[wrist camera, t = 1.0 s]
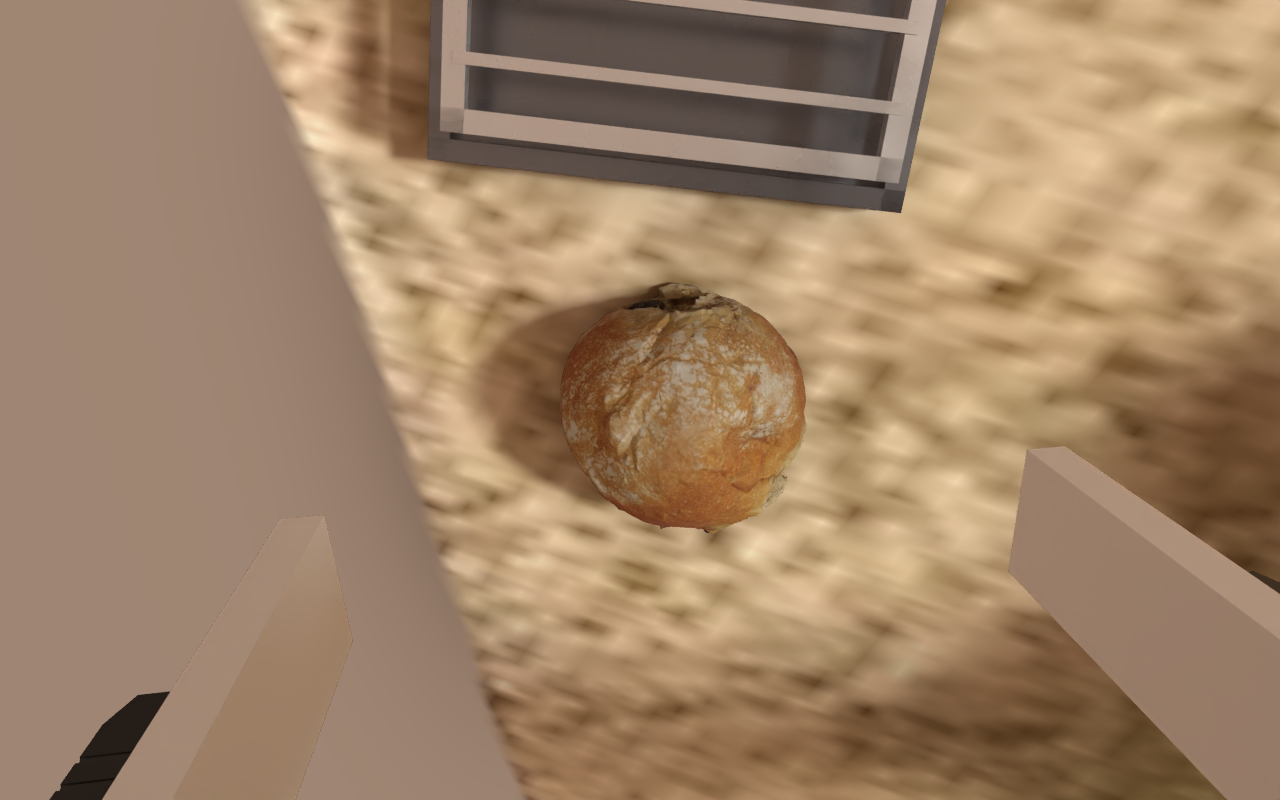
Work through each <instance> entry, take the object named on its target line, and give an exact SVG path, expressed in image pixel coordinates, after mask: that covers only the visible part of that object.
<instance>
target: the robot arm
mask: <svg viewBox="0 0 1280 800" xmlns="http://www.w3.org/2000/svg"><path fill="white" fill-rule="evenodd" d="M1008 571H1009V572H1010V574H1011V575H1012V576H1013V577H1014V578H1015V579H1016V580H1017V581H1018V582H1019V583H1020V584H1021V585H1022V586H1023V587H1024V588H1025V589H1026V590H1027V591H1028V592H1029V593H1030V594H1031V595H1032V597H1033V598H1034V599H1035V600H1036V601H1037V602H1038V603H1039V604H1040V605H1041V606H1042V607H1043V608H1044V609H1045V610H1046V611H1047V612H1048V613H1049V614H1050V615H1051V616H1052V617H1053V618H1054V620H1055V621H1056V622H1057V623H1058V624H1059V625H1060V626H1061V627H1062V628H1063V629H1064V630H1065V631H1066V632H1067V633H1068V634H1069V635H1070V636H1071V637H1072V638H1073V639H1074V640H1075V641H1076V643H1077V644H1078V645H1079V646H1080V647H1081V648H1082V649H1083V650H1084V651H1085V652H1086V653H1087V654H1088V655H1089V656H1090V657H1091V658H1092V659H1093V660H1094V661H1095V662H1096V663H1097V664H1098V666H1099V667H1100V668H1101V669H1102V670H1103V671H1104V672H1105V673H1106V674H1107V675H1108V676H1109V677H1110V678H1111V679H1112V680H1113V681H1114V682H1115V683H1116V684H1117V685H1118V686H1119V687H1120V689H1121V690H1122V691H1123V692H1124V693H1125V694H1126V695H1127V696H1128V697H1129V698H1130V699H1131V700H1132V701H1133V702H1134V703H1135V704H1136V705H1137V706H1138V707H1139V708H1140V709H1141V711H1142V712H1143V713H1144V714H1145V715H1146V716H1147V717H1148V718H1149V719H1150V720H1151V721H1152V722H1153V723H1154V724H1155V725H1156V726H1157V727H1158V728H1159V729H1160V730H1161V731H1162V732H1163V734H1164V735H1165V736H1166V737H1167V738H1168V739H1169V740H1170V741H1171V742H1172V743H1173V744H1174V745H1175V746H1176V747H1177V748H1178V749H1179V750H1180V751H1181V752H1182V753H1183V754H1184V755H1185V757H1186V758H1187V759H1188V760H1189V761H1190V762H1191V763H1192V764H1193V765H1194V766H1195V767H1196V768H1197V769H1198V770H1199V771H1200V772H1201V773H1202V774H1203V775H1204V776H1205V777H1206V778H1207V780H1208V781H1209V782H1210V783H1211V784H1212V785H1213V786H1214V787H1215V788H1216V789H1217V790H1218V791H1219V792H1220V793H1221V794H1222V795H1223V796H1224V797H1225V798H1226V799H1227V800H1280V583H1279V582H1277V581H1275V580H1272V579H1270V578H1268V577H1265V576H1263V575H1261V574H1259V573H1256V572H1254V571H1250V572H1247V571H1246V570H1244V569H1243V568H1241V567H1240V566H1238V565H1237V564H1235V563H1234V562H1232V561H1231V560H1230V559H1228V558H1227V557H1225V556H1224V555H1222V554H1221V553H1219V552H1218V551H1216V550H1215V549H1214V548H1212V547H1211V546H1209V545H1208V544H1206V543H1205V542H1203V541H1202V540H1200V539H1199V538H1198V537H1196V536H1195V535H1193V534H1192V533H1190V532H1189V531H1187V530H1186V529H1184V528H1183V527H1182V526H1180V525H1179V524H1177V523H1176V522H1174V521H1173V520H1171V519H1170V518H1168V517H1167V516H1166V515H1164V514H1163V513H1161V512H1160V511H1158V510H1157V509H1155V508H1154V507H1152V506H1151V505H1150V504H1148V503H1147V502H1145V501H1144V500H1142V499H1141V498H1139V497H1138V496H1136V495H1135V494H1134V493H1132V492H1131V491H1129V490H1128V489H1126V488H1125V487H1123V486H1122V485H1120V484H1119V483H1118V482H1116V481H1115V480H1113V479H1112V478H1110V477H1109V476H1107V475H1106V474H1105V473H1103V472H1102V471H1100V470H1099V469H1097V468H1096V467H1094V466H1093V465H1091V464H1090V463H1089V462H1087V461H1086V460H1084V459H1083V458H1081V457H1080V456H1078V455H1077V454H1075V453H1074V452H1073V451H1071V450H1070V449H1068V448H1067V447H1065V446H1061V447H1050V448H1039V449H1029V450H1027V452H1026V458H1025V465H1024V471H1023V478H1022V485H1021V491H1020V498H1019V504H1018V511H1017V517H1016V524H1015V530H1014V537H1013V543H1012V550H1011V556H1010V563H1009V569H1008ZM352 642H353V640H352V635H351V630H350V626H349V621H348V617H347V613H346V608H345V604H344V599H343V595H342V590H341V586H340V582H339V577H338V573H337V569H336V564H335V560H334V555H333V551H332V547H331V542H330V538H329V533H328V529H327V525H326V520H325V516H324V515H318V516H308V517H296V518H286V519H280V520H279V521H278V523H277V525H276V526H275V528H274V529H273V531H272V532H271V534H270V535H269V537H268V539H267V540H266V542H265V543H264V545H263V547H262V548H261V550H260V551H259V553H258V554H257V556H256V558H255V559H254V561H253V562H252V564H251V566H250V567H249V569H248V570H247V572H246V573H245V575H244V577H243V578H242V580H241V581H240V583H239V585H238V586H237V588H236V589H235V591H234V592H233V594H232V595H231V597H230V599H229V601H228V602H227V603H226V605H225V607H224V608H223V610H222V611H221V613H220V614H219V616H218V618H217V619H216V621H215V622H214V624H213V625H212V627H211V629H210V630H209V632H208V633H207V635H206V637H205V638H204V640H203V641H202V643H201V645H200V646H199V648H198V649H197V651H196V652H195V654H194V655H193V657H192V659H191V660H190V662H189V663H188V665H187V666H186V668H185V670H184V671H183V673H182V674H181V676H180V678H179V679H178V681H177V682H176V684H175V686H174V687H173V689H172V690H171V692H162V693H152V694H144V695H137V696H136V697H135V698H134V699H133V700H132V701H130V702H129V703H128V704H127V705H126V706H124V707H123V708H122V709H121V710H120V711H118V712H117V713H116V714H115V715H114V716H112V718H110V719H109V720H108V721H107V722H105V723H104V724H103V725H102V726H101V728H100V729H99V731H98V732H97V733H96V735H95V736H94V738H93V739H92V741H91V742H90V744H89V745H88V746H87V748H86V749H85V750H84V752H83V753H82V755H81V756H80V762H79V763H76V764H75V765H74V766H73V767H72V769H71V770H70V772H69V773H68V774H67V776H66V777H65V779H64V780H63V782H62V783H61V789H60V791H56V792H55V793H54V794H53V796H52V797H51V799H50V800H296V797H297V794H298V792H299V789H300V786H301V783H302V781H303V778H304V775H305V772H306V769H307V767H308V764H309V761H310V758H311V756H312V753H313V750H314V747H315V744H316V742H317V739H318V736H319V733H320V731H321V728H322V725H323V722H324V720H325V716H326V714H327V711H328V708H329V706H330V703H331V700H332V697H333V694H334V692H335V689H336V686H337V683H338V680H339V678H340V675H341V672H342V670H343V667H344V664H345V661H346V658H347V656H348V653H349V650H350V647H351V644H352Z"/></svg>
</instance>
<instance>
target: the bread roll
mask: <svg viewBox="0 0 1280 800" xmlns="http://www.w3.org/2000/svg"><path fill="white" fill-rule="evenodd" d="M658 290H659V297H657V298H652V299H647V300H644V301H642V302H639V303H635V304H633V305H630V306H627V307H622V308H620V309H618V310H616V311H614V312H610V313H607V314H606V315H605V316H604V317H603V318H602V319H601V320H600V321H599V322H597V323H595V324H594V325H593V326H592V327H590V328H589V329H588V330H587V331H586V332H585V333H583V335H582V336H581V337H580V339H579V340H578V342H577V343H576V345H575V346H574V348H573V350H572V351H571V353H570V355H569V357H568V360H567V362H566V365H565V368H564V372H563V376H562V381H561V400H560V413H561V421H562V426H563V430H564V434H565V436H566V439H567V443H568V445H569V448H570V450H571V452H572V453H573V455H574V457H575V458H576V460H577V462H578V464H579V466H580V467H581V469H582V470H583V471H584V473H585V474H586V475H587V476H588V477H589V478H590V480H591V481H592V483H593V484H594V485H595V486H596V488H597V489H598V491H599V493H600V494H601V495H602V496H603V497H604V498H605V499H606V500H608V501H610V502H611V503H613V504H614V505H615V506H616V507H617V508H618V509H619V510H622V511H625V512H627V513H628V514H630V515H632V516H634V517H636V518H638V519H640V520H641V521H643V522H646V523H650V524H654V525H659V526H660V527H661V529H662V528H665V527H685V528H696V529H704V531H705V532H706V533H715V532H716V531H718V530H720V529H722V528H725V527H727V526H729V525H732V524H734V523H737V522H740V521H742V520H745V519H748V517H752V516H758V515H759V514H760V513H761V512H762V506H765V507H767V506H769V505H770V504H772V503H774V502H775V501H776V499H777V498H778V496H779V495H780V494H781V493H783V490H784V486H785V483H786V481H787V476H786V477H784V475H783V473H784V469H785V468H786V467H787V466H788V465H789V464H790V463H791V461H792V460H793V459H794V457H795V455H796V454H797V452H798V450H799V448H800V446H801V445H802V443H803V440H802V437H803V434H804V432H805V430H806V422H805V416H804V408H805V402H806V395H805V387H804V382H803V376H802V371H801V368H800V366H799V363H798V360H797V357H796V355H795V354H794V352H793V351H792V349H791V348H790V347H789V346H788V345H787V344H786V342H785V340H784V339H783V338H782V336H781V335H780V334H779V333H778V332H777V330H776V329H775V328H774V327H773V326H772V325H771V324H770V323H769V322H768V321H767V320H766V319H765V318H764V317H763V316H761V315H760V314H758V313H755V312H754V311H752V310H751V309H750V308H748V307H746V306H744V305H742V304H741V303H739V302H738V301H736V300H733V299H729V298H726V297H722V296H720V295H718V294H716V293H713V292H711V291H708V292H706V293H705V294H703V293H702V292H701V291H700V290H699V289H698V288H697V287H695V286H693V285H684V284H680V283H679V284H669V285H666V286H663V287H660V288H658Z"/></svg>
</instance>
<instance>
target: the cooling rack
mask: <svg viewBox="0 0 1280 800" xmlns="http://www.w3.org/2000/svg"><path fill="white" fill-rule="evenodd" d="M945 3H946V0H431V16H430V66H429V117H428V159H432V160H441V161H449V162H458V163H467V164H476V165H485V166H493V167H502V168H511V169H520V170H528V171H537V172H546V173H555V174H563V175H572V176H581V177H590V178H598V179H607V180H616V181H625V182H633V183H642V184H651V185H660V186H669V187H677V188H686V189H695V190H704V191H712V192H721V193H730V194H739V195H747V196H756V197H765V198H774V199H782V200H791V201H800V202H809V203H817V204H826V205H835V206H844V207H852V208H861V209H870V210H879V211H888V212H896V213H901V210H902V205H903V201H904V196H905V191H906V186H907V182H908V177H909V172H910V168H911V163H912V158H913V154H914V149H915V144H916V139H917V135H918V130H919V125H920V121H921V116H922V111H923V107H924V102H925V97H926V92H927V88H928V83H929V78H930V74H931V69H932V64H933V60H934V55H935V50H936V46H937V41H938V36H939V31H940V27H941V22H942V17H943V13H944V8H945Z"/></svg>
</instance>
